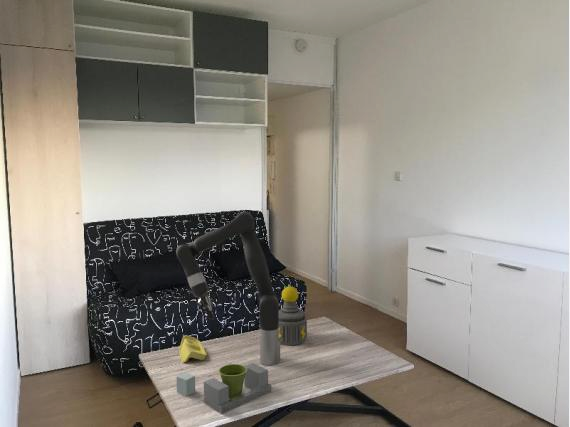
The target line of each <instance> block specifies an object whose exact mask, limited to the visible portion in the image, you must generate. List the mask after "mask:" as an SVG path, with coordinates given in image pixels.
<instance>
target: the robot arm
mask: <svg viewBox="0 0 570 427" xmlns="http://www.w3.org/2000/svg"><path fill="white" fill-rule="evenodd" d="M237 235H240V238H241V242H242V245H243V252H244V258H245V261H246V265H247V266H246V267H247V268H248V272H249V274H250V277H251V278H252V280H253V282H254V284H255V286H256V289H257V293H258V299H259V304H258V306H259V307H258V308H259V309H258V316H259V317H258V318H259V322H258V323H259V363H260V364H261V365H263V366H274V365H277V364H278V363H280V361H281V344H280V342H279V310H280V309H279V308H280V307H279V299H278V297H277V295H276V293H275V291H274V288H273V285H272V282H271V277H270V270H269V268H268V264H267V260H266V255H265V254H264V251H263V248H262V245H260V241H259V239H258V236H257V232H256V227H255V219H254V217H253V215H252V214H251V213H249V212H248V211H247V212H246V211H242V212H239V213H237V215H236V216H235V217H234V218H233V219H232V220H231V221H229V222H228V223H226V224H225V225H223V226H221V227H219V228H216V229H213V230H211V231H208V232H206V233H204V234H203V235H200V236H198V237H196V238H195V239H194V241H193V242H191V243H190V244H185V243H184V244H180V245H178V246H177V247H176V250H175V252H176V253H175V254H176V258H177V259H178V262H179V264H180V266H181V267H182V268H183V271H184V273H185V277H186V279H187V283H188V286H189V287H190V290H191V292H192V295H193V297H195V298H196V297H197V300H198V301H197V302H196V304H197V306H198V307H199V308H200V309H201V311H202V312H203V313H204V312H205V313H206V315H207V317H208V318H207V319H208V320H209V321H211V320H213V319H215V316H214V313H213V309H214V301H213V297H212V298H210V296H209V294H208V292H209V290H210V288H209V287H208V283H207V281H206V279H205V277H204V275H203V273H202V271H201V270H202V269H201V267H200V266H199V264H198V263H197V262H196V261H195V258H196V257H197V256H199V255H200V254H201V253H203V252H205V251H206V250H209V249H211V248H213V247H214V246H216V245H218V244H220V243H222V242H224V241H225V240H228V239H230V238H233V237H234V236H237Z"/></svg>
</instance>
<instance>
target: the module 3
mask: <svg viewBox="0 0 570 427" xmlns="http://www.w3.org/2000/svg"><path fill="white" fill-rule="evenodd" d="M244 366H245V367H246V368H247V372H246V374H245V377H244V383H243V386H244V387H245V388H247V389H249V390H253V389H255V388H257V387H261V386H263V385H266V384H269V369H267V368H265V367H263V366H260V365H258V364H256V363H254V362H252V363H249V364H247V365H244Z"/></svg>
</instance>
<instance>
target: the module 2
mask: <svg viewBox="0 0 570 427" xmlns="http://www.w3.org/2000/svg"><path fill="white" fill-rule="evenodd" d="M229 400H230V399H229V386H228V385H226V384H224V383H222V381H220V380H219V379H217V378H215V377H213V378H210V379H207V380H205V381H203V403H204V404H205V405H206V406H208V407H210V408H212V409H213V410H215V411H216V412H218V413H219V404H222V403H224V402H226V401H229Z"/></svg>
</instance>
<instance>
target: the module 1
mask: <svg viewBox="0 0 570 427" xmlns="http://www.w3.org/2000/svg"><path fill="white" fill-rule="evenodd" d="M175 378H176V393H178V394H181V395H183V396H185V397H188V396H189V395H191V394H193V393H195V392H196V375H194V374H191V373H189V372H186V371H185V372H183V373H181V374H179V375H177V376H176V377H175Z"/></svg>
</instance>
